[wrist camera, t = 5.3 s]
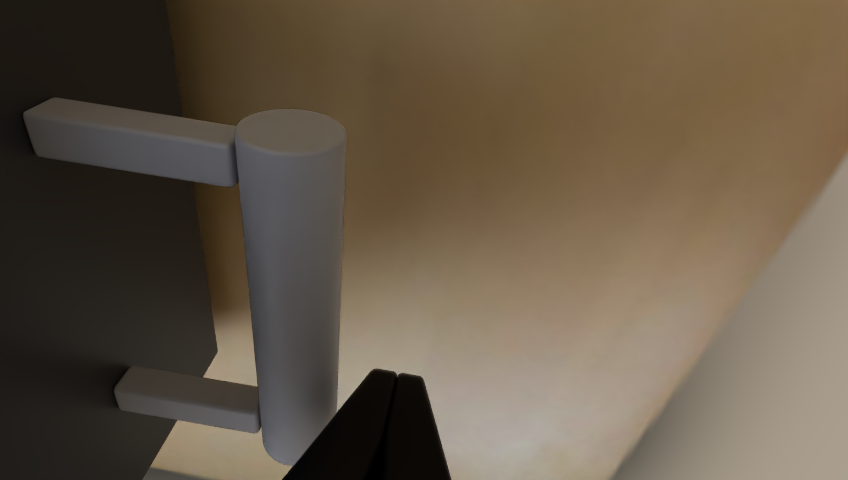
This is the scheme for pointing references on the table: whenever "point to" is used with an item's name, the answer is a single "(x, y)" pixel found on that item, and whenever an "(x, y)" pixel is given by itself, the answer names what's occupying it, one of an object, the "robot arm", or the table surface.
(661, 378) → the table surface
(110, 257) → the drawer
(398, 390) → the robot arm
